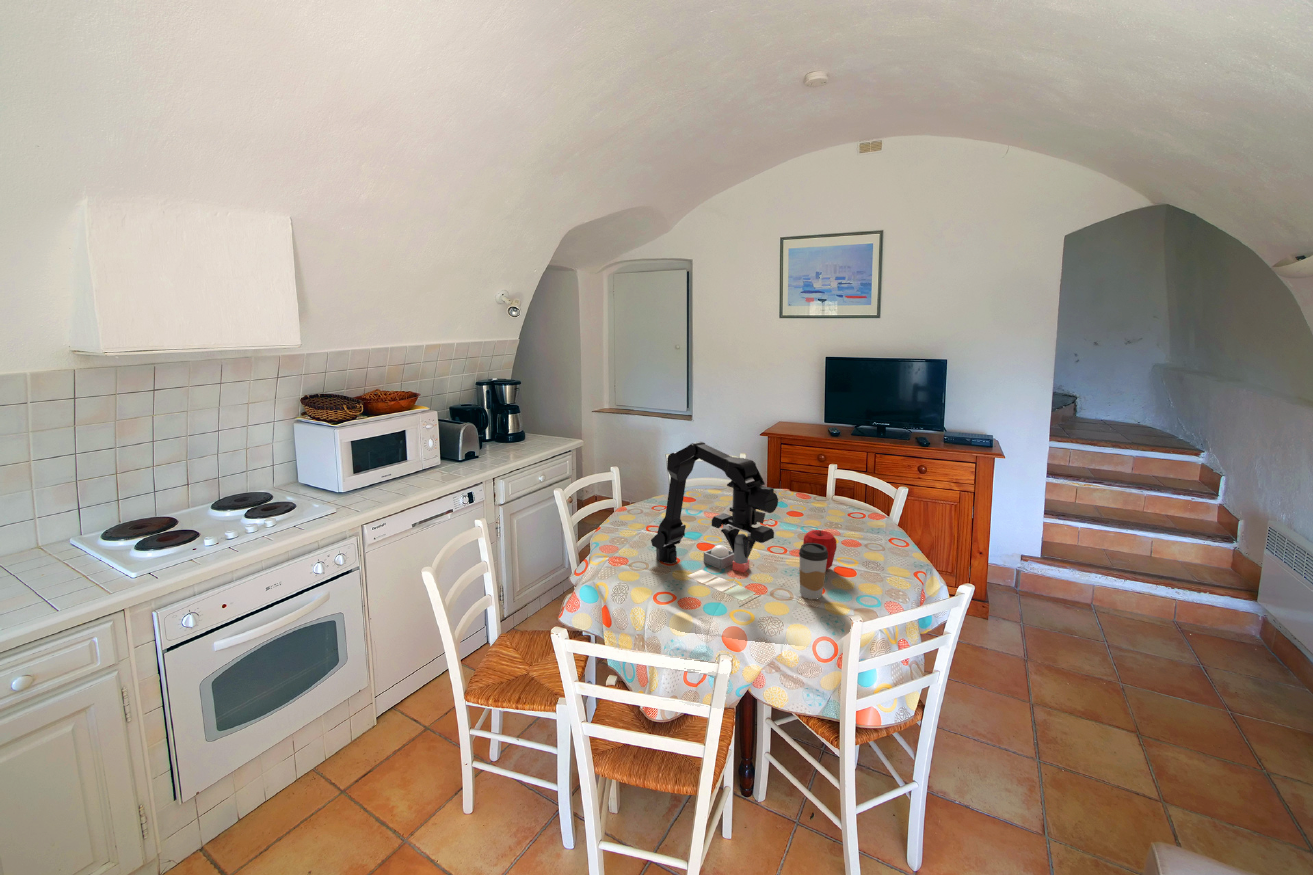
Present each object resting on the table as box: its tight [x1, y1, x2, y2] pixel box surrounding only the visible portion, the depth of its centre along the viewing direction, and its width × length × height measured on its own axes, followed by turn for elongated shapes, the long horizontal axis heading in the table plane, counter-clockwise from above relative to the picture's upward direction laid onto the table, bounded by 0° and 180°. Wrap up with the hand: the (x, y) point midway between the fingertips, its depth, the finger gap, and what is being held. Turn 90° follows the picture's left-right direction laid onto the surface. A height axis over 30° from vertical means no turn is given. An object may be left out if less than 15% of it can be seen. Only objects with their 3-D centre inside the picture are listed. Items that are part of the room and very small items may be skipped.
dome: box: [711, 544, 729, 558], centre depth 198 cm, size 6×6×6 cm
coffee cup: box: [798, 543, 828, 600], centre depth 177 cm, size 8×8×15 cm
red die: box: [732, 559, 750, 573], centre depth 193 cm, size 4×4×4 cm
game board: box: [686, 569, 762, 608], centre depth 183 cm, size 23×10×1 cm, turn 44°
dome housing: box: [703, 548, 734, 570], centre depth 198 cm, size 8×8×4 cm
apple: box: [802, 529, 838, 571], centre depth 194 cm, size 11×10×14 cm
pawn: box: [734, 533, 749, 564], centre depth 175 cm, size 4×4×8 cm
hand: (741, 555), depth 175 cm, fingers closed on pawn, 4 cm apart
